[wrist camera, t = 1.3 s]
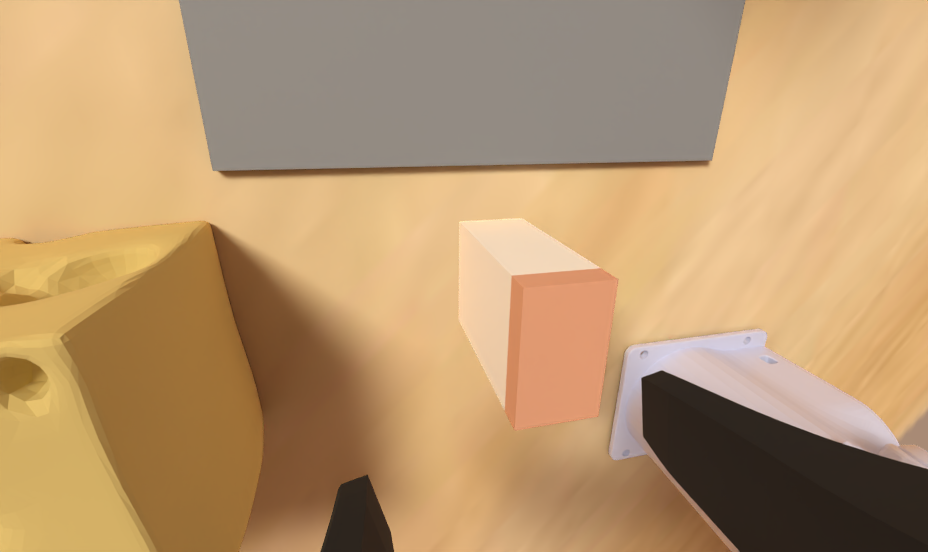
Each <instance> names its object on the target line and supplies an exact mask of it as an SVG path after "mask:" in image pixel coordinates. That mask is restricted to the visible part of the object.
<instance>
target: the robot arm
mask: <svg viewBox="0 0 928 552" xmlns="http://www.w3.org/2000/svg"><path fill="white" fill-rule="evenodd" d="M766 339H767V333H766V332H765V331H763V330H761V329H752V330H744V331H737V332H729V333H721V334H713V335H706V336H698V337H690V338H683V339H675V340H667V341H659V342H652V343H644V344H636V345H632V346H630V347H628V348H627V350H626V351H625V354H624V361H623V367H622V373H621V379H620V385H619V391H618V397H617V403H616V409H615V416H614V422H613V428H612V434H611V440H610V446H609V455H610V456H611V458H612V459H613V460H621V459H626V458H631V457H636V456H641V455H646V454H648V455H649V456H650V458H651V459H652V460H653V461H654V462H655V463H656V465H657V466H658V467H659V468H660V469H661V470H662V472H663V473H664V474H665V475H666V476H667V477H668V479H669V480H670V481H671V482H672V483H673V484H674V486H675V487H676V488H677V489H678V490H679V491H680V492H681V494H682V495H683V496H684V497H685V498H686V499H687V501H688V502H689V503H690V504H691V505H692V506H693V508H694V509H695V510H696V511H697V512H698V513H699V515H700V516H701V517H702V518H703V519H704V520H705V522H706V523H707V524H708V525H709V526H710V527H711V528H712V530H713V531H714V532H715V533H716V534H717V535H718V537H719V538H720V539H721V540H722V541H723V542H724V544H725V545H726V546H727V547H728V548H729V549H730V551H731V552H928V451H926V450H924V449H922V448H921V447H919V446H917V445H899V443H898V441H897V440H896V438H895V436H894V435H893V433H892V432H891V431H890V429H889V428H888V427H887V425H886V424H885V423H884V422H883V421H882V419H881V418H880V417H879V416H878V415H877V414H876V413H875V412H873V411H872V410H871V409H870V408H869V407H867V406H866V405H865V404H863V403H862V402H860V401H859V400H857V399H855V398H854V397H852V396H850V395H848V394H847V393H845V392H843V391H841V390H840V389H838V388H836V387H834V386H833V385H831V384H829V383H827V382H826V381H824V380H822V379H820V378H819V377H817V376H815V375H813V374H812V373H810V372H808V371H806V370H805V369H803V368H801V367H800V366H798V365H796V364H794V363H793V362H791V361H789V360H787V359H786V358H784V357H782V356H780V355H779V354H777V353H775V352H773V351H772V350H770V349H768V348H766V347H765V343H766ZM643 351H644V352H643ZM641 352H643V353H642V354H641ZM640 354H641V355H640ZM321 552H394V549H393V543H392V537H391V532H390V529H389V527H388V524H387V522H386V519H385V517H384V514H383V512H382V509H381V507H380V504H379V502H378V499H377V497H376V494H375V492H374V489H373V487H372V484H371V482H370V480H369V477H368V475H366V476H363V477H360V478H357V479H354V480H352V481H349V482H346V483H343V484H341V486H340V487H339V489H338V493H337V497H336V501H335V504H334V508H333V512H332V516H331V519H330V523H329V526H328V529H327V533H326V536H325V539H324V542H323V546H322V549H321Z"/></svg>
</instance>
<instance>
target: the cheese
mask: <svg viewBox="0 0 928 552" xmlns="http://www.w3.org/2000/svg"><path fill="white" fill-rule="evenodd" d="M263 447H264V433H263V414H262V409H261V405H260V401H259V396H258V392H257V389H256V385H255V381H254V378H253V375H252V371H251V368H250V365H249V362H248V359H247V356H246V353H245V350H244V347H243V344H242V341H241V338H240V335H239V332H238V329H237V326H236V323H235V320H234V317H233V313H232V309H231V306H230V302H229V298H228V294H227V291H226V287H225V283H224V279H223V275H222V271H221V266H220V262H219V258H218V254H217V250H216V246H215V241H214V237H213V233H212V229H211V226H210V224H209V223H208V222H206V221H195V222H184V223H174V224H164V225H154V226H144V227H135V228H125V229H116V230H108V231H100V232H93V233H88V234H84V235H80V236H75V237H71V238H66V239H62V240H57V241H52V242H45V243H34V244H25V243H24V242H23V241H21V240H18V239H14V238H4V239H0V552H239V549H240V547H241V544H242V541H243V538H244V535H245V532H246V528H247V525H248V521H249V517H250V514H251V510H252V506H253V502H254V497H255V493H256V489H257V484H258V480H259V475H260V470H261V464H262V457H263Z"/></svg>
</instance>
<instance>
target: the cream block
mask: <svg viewBox="0 0 928 552" xmlns="http://www.w3.org/2000/svg"><path fill="white" fill-rule="evenodd" d="M617 286H618V279H617V278H615V277H614V276H612V275H611V274H609V273H607V272H606V271H604V270H603V269H601V268H600V267H598V266H596V265H595V264H593V263H592V262H590V261H589V260H587V259H585V258H584V257H582V256H581V255H579V254H578V253H576V252H574V251H573V250H571V249H570V248H568V247H566V246H565V245H563V244H562V243H560V242H559V241H557V240H555V239H554V238H552V237H551V236H549V235H548V234H546V233H544V232H543V231H541V230H540V229H538V228H537V227H535V226H533V225H532V224H530V223H529V222H527V221H526V220H524V219H522V218H514V219H495V220H475V221H459V322H460V324H461V326H462V328H463V330H464V332H465V334H466V336H467V338H468V340H469V342H470V344H471V346H472V348H473V349H474V351H475V353H476V355H477V357H478V359H479V361H480V363H481V365H482V367H483V369H484V371H485V373H486V375H487V377H488V379H489V381H490V383H491V385H492V387H493V389H494V391H495V393H496V395H497V397H498V399H499V401H500V403H501V405H502V407H503V409H504V410H505V412H506V414H507V416H508V418H509V420H510V422H511V424H512V426H513V428H514V430H521V429H527V428H533V427H539V426H545V425H551V424H557V423H563V422H569V421H575V420H580V419H586V418H592V417H598V415H599V408H600V401H601V394H602V387H603V381H604V374H605V367H606V360H607V354H608V347H609V340H610V333H611V326H612V320H613V313H614V306H615V299H616V292H617Z"/></svg>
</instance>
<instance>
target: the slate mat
mask: <svg viewBox="0 0 928 552" xmlns="http://www.w3.org/2000/svg"><path fill="white" fill-rule="evenodd" d="M179 3H180V8H181V13H182V18H183V23H184V28H185V33H186V38H187V43H188V48H189V54H190V59H191V64H192V69H193V74H194V79H195V84H196V89H197V94H198V99H199V104H200V109H201V114H202V119H203V124H204V129H205V134H206V139H207V144H208V149H209V154H210V159H211V164H212V169H213V171H229V170H276V169H324V168H371V167H419V166H467V165H514V164H562V163H609V162H657V161H704V160H712V157H713V153H714V148H715V143H716V138H717V133H718V129H719V124H720V119H721V114H722V109H723V105H724V100H725V95H726V90H727V86H728V81H729V76H730V71H731V66H732V62H733V57H734V52H735V47H736V42H737V38H738V33H739V28H740V23H741V19H742V14H743V9H744V4H745V0H179Z"/></svg>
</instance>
